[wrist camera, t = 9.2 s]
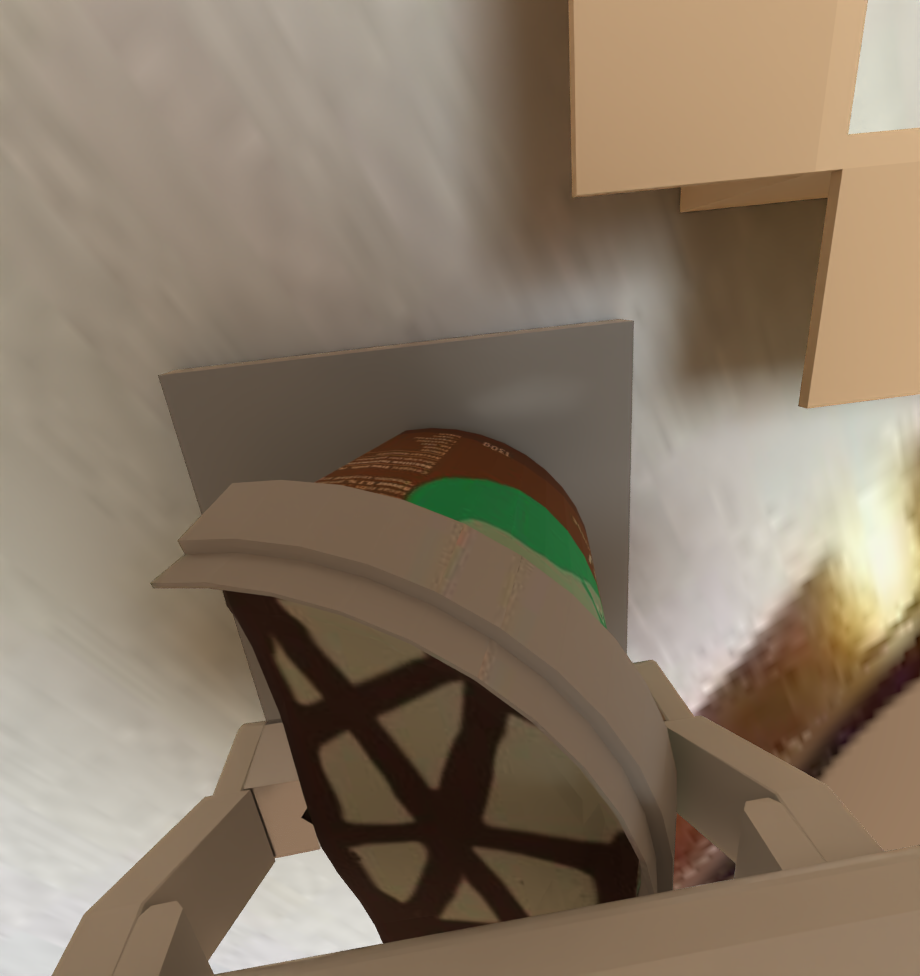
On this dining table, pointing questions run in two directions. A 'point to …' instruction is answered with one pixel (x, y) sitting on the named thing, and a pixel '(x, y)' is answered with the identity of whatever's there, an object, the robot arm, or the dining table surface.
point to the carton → (763, 155)
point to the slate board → (427, 422)
